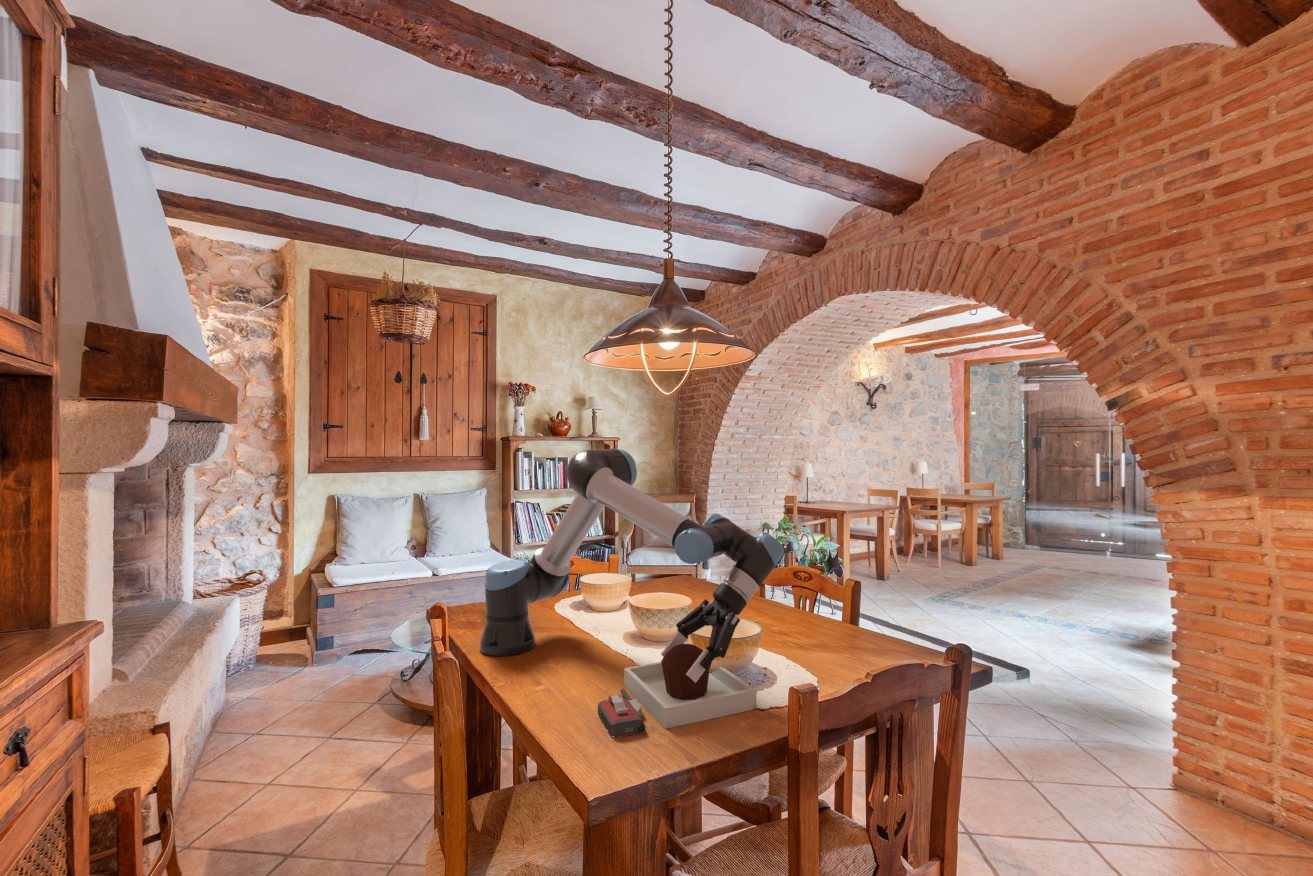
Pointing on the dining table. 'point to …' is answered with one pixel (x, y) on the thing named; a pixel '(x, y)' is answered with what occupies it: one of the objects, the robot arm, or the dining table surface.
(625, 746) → the dining table surface
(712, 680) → the tray
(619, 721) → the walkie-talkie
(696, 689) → the muffin
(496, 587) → the robot arm
